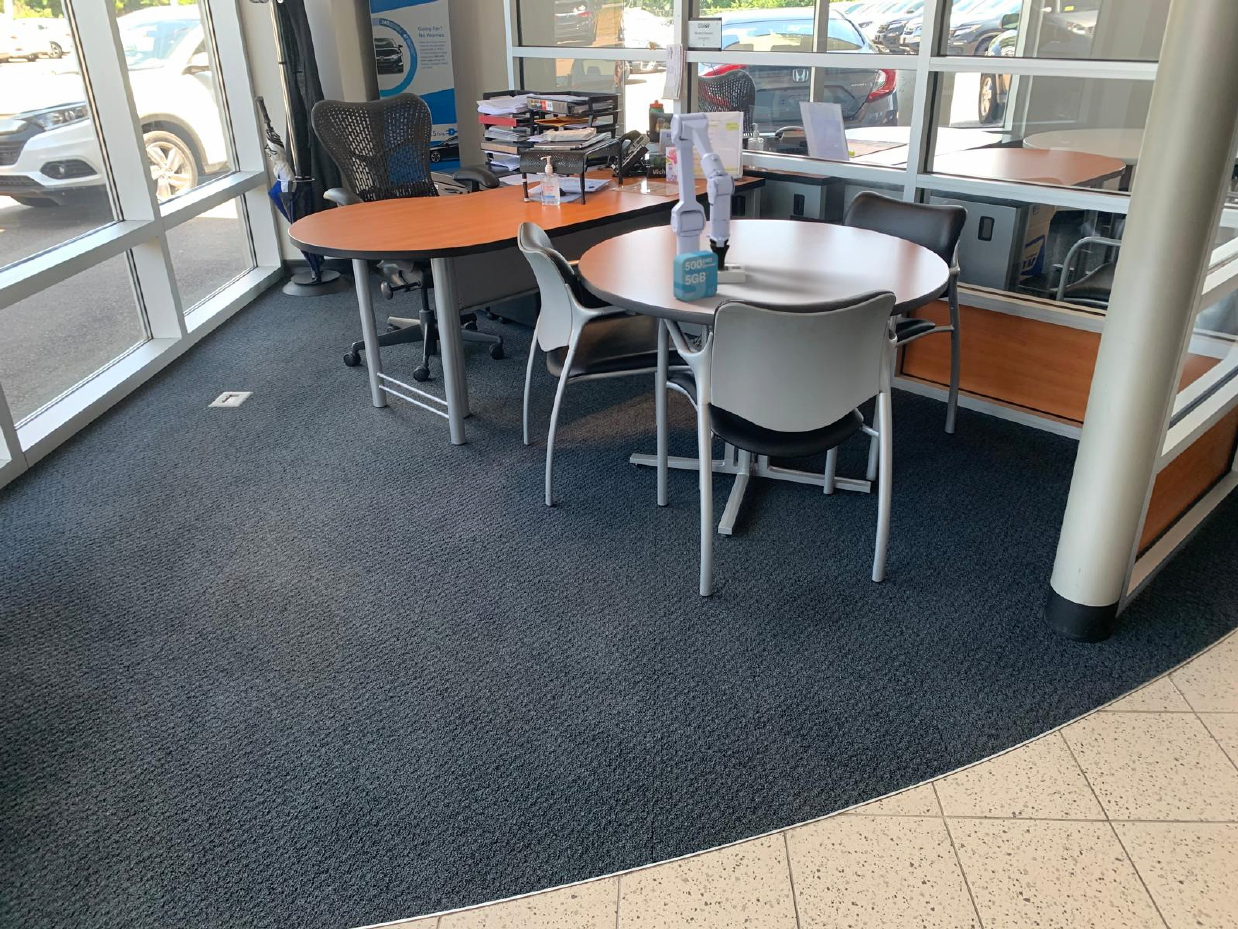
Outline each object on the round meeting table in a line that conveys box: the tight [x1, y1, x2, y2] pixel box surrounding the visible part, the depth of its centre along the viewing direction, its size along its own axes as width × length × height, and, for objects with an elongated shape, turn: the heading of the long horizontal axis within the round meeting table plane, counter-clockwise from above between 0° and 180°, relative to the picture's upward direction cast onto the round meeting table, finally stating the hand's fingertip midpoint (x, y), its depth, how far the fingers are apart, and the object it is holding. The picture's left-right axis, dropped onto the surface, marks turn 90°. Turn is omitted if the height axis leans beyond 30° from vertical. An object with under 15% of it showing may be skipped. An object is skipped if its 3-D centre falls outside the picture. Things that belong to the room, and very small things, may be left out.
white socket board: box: [717, 263, 746, 284], centre depth 268 cm, size 10×18×3 cm, turn 86°
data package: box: [672, 249, 718, 302], centre depth 249 cm, size 12×4×12 cm, turn 122°
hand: (718, 265), depth 267 cm, fingers open, 5 cm apart
